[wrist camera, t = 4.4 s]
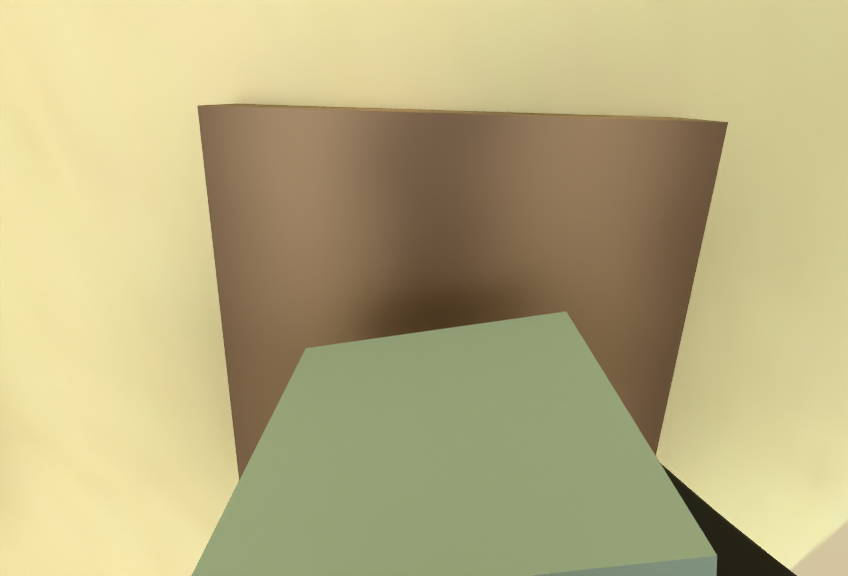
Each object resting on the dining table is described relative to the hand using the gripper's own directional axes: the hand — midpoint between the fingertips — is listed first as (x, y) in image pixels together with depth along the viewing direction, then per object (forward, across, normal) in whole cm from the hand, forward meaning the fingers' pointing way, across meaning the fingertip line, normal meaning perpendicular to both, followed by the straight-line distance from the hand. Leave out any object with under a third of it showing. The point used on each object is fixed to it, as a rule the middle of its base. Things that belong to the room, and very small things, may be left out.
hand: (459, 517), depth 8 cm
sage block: (+2, 0, 0) cm, 2 cm away
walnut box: (+9, 0, 0) cm, 9 cm away
